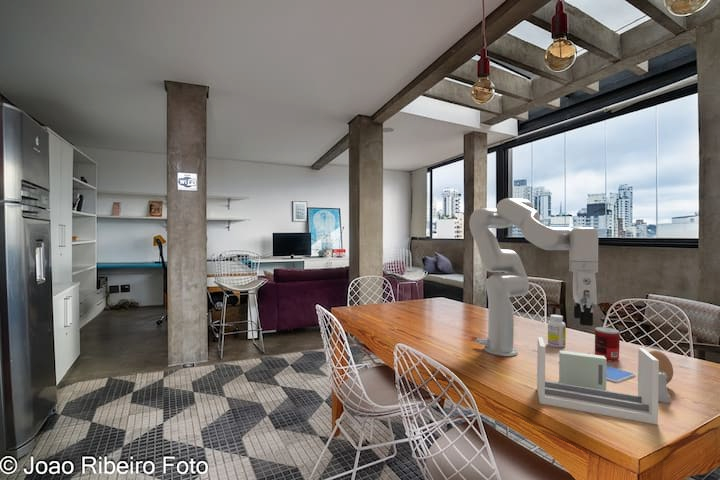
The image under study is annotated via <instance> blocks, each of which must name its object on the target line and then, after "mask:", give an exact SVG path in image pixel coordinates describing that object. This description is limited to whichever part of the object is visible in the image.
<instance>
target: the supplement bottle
mask: <svg viewBox="0 0 720 480" xmlns="http://www.w3.org/2000/svg"><path fill="white" fill-rule="evenodd" d="M563 320H564V316H563V315H560V314H550V320H549V321H548V322H547V344H548V345H549V346H551V347H555V348H565V347H566V344H567V343H566V334H567V333H566V331H567V330H566V328H567V326H566V323H565V321H563Z"/></svg>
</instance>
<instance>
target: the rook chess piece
mask: <svg viewBox="0 0 720 480" xmlns="http://www.w3.org/2000/svg"><path fill="white" fill-rule="evenodd" d="M667 378H668V376H667V373H665V372H663V371H662V373H661V371H659V378H658V403H663V404H669V403H670V402H671V401H672V400H671V395H670V394H669V392H668V389H667V384H666V383H667V381H666V379H667Z"/></svg>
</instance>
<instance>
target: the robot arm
mask: <svg viewBox="0 0 720 480" xmlns="http://www.w3.org/2000/svg"><path fill="white" fill-rule="evenodd" d="M540 219H541V218H540V213H539V211H537V210H536V209H534V205H533V204H532V202H531V201H530V200H528V199H525V198H514V197H508V198H507V197H506V198H504V199H501V200H499V201H498V203H497V204H496V207H495V208H493V207H491V208H490V207H482V208H477V209H475V210H474V211H473V212H472V214H471V215H470V217H469V230H470V233H471V236H472V238H473V240H474V242H475V244H476V246H477V251H478V254H479V257H480V259H481V263H482V265H483V268H484V270H485V271H487V272H489V273H496V274H493V275H491V276H489V277H488V278H487V279H486V282H485V289H486V293H487V300H488V301H487V302H488V314H487V317H488V325H487V326H488V327H487V330H488V331H487V335H488V336H487V338H484V339H483V338H479V337H477V338H476V343H477V344H479V345H483V349H484V351H485V352H486V353H488V354H491V355H494V356H498V357H500V356H501V357H514V356H517V355H518V353H519V352H518V351H519V350H517V348H515V347H514V335H515V334H514V328H515V327H514V326H515V324H514V319H515V318H514V317H515V313H514V310H515V309H514V306H513V303H512V301H511V298H512V297H514V298H515V297H522V296H524V295H527V293H528V291H529V289H530V283H529V279H528V277H527V276H528V275H527V273H526V271H525V268H524V264H523V262H522V259H521V258H520V255H519V254H518V253H517V252H515V251H514V250H512V249H506V248H505V249H502V248H501V246H500V244H499V242H498V239H497V237H496V235H495V234H494V233H493V232H492V231H491V230H490V229H506V228H509V227H512V226H514V227H516V228H518V229H519V230H520V231H521V234H522V236H523V237H524V238H525V240H526V241H528V242H529V243H531V244H533V245H534V246H535V247H538V248H540V249H541V250H546V251H568V252H569V257H568V258H569V259H568V260H569V261H568V262H569V263H568V264H569V265H568V267H569V268H568V269H569V270H568V271H569V272H572V273H573V274H572V299H573V301H574V306H573V318H574V319H579V324H580V326H587V327H588V326H589V327H592V326H594V310H593V306H597V304H598V297H597V280H596V273H597V274H598V273H599V231H598V229H597V228H595V227H574V228H572V227H560V226H559V227H555V226H553V227H552V226H547V225H545V224H543V223H541V222H540ZM502 272H504V273H502Z"/></svg>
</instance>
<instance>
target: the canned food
mask: <svg viewBox="0 0 720 480" xmlns="http://www.w3.org/2000/svg"><path fill="white" fill-rule="evenodd" d="M620 336H621V335H620V330H618V329H616V328H611V327H605V326H598V327H595V328H594V355H601V356H605V358H606V359H607V361H608V362H617V361H619V359H620V340H621V339H620V338H621V337H620Z"/></svg>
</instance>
